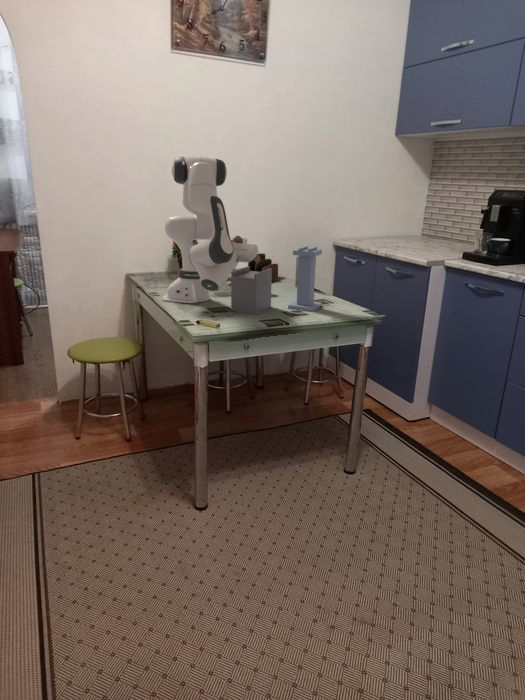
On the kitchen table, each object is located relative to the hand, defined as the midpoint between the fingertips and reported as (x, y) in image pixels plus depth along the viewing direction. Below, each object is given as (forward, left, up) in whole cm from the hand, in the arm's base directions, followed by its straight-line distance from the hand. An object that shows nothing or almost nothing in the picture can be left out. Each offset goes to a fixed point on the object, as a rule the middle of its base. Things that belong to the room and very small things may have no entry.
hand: (240, 239), depth 206 cm
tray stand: (+4, +11, -32) cm, 34 cm away
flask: (+26, +60, -32) cm, 73 cm away
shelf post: (+28, +18, -32) cm, 46 cm away
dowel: (+2, +6, -5) cm, 8 cm away
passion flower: (-10, +61, -32) cm, 70 cm away
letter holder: (+3, +84, -32) cm, 90 cm away
